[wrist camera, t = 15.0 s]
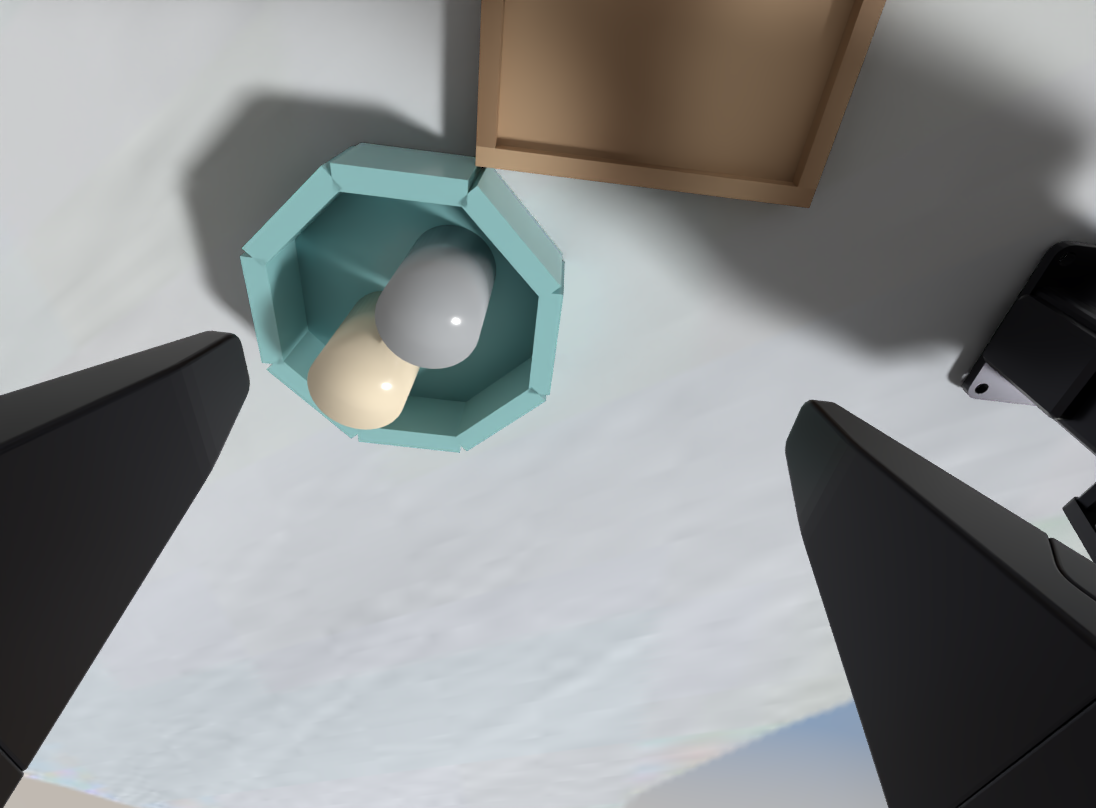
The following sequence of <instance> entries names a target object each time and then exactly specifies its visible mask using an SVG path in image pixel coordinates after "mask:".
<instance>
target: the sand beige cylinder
mask: <svg viewBox="0 0 1096 808" xmlns="http://www.w3.org/2000/svg"><path fill="white" fill-rule="evenodd" d="M381 293H382V291H377V292H372V293H369V294H367V295H365V296H364V297H362V298H361V299H360V300H359V301H358V302H357V303H356V304H355V305H354V307H353V308H352V310H351V311H350V312H349V314H348V315H347V317H346V318H345V319H344V321H343V322H342V323H341V325H340V326H339V328H338V329H337V330H336V332H335V333H334V335H333V336H332V337H331V339H330V340H329V341H328V343H327V344H326V346H325V347H324V348H323V350H322V351H321V353H320V354H319V355H318V357H317V358H316V359H315V361H314V362H313V364H312V365H311V367H310V369H309V372H308V377H307V385H308V390H309V393H310V395H311V397H312V399H313V401H314V403H315V404H316V405H317V407H318V408H319V409H320V410H321V411H322V412H323V413H324V414H325V415H327V416H328V417H329V418H331V419H332V420H334V421H336V422H338V423H340V424H342V425H344V426H347V427H351V428H355V429H364V430H367V429H377V428H381V427H384V426H386V425H388V424H390V423H391V422H393V421H394V420H395V419H396V418H397V417H398V416H399V415H400V413H401V412H402V410H403V407H404V405H405V402H406V400H407V397H408V395H409V393H410V390H411V388H412V385H413V383H414V380H415V378H416V376H417V373H418V371H419V368H420V367H418V366H415V365H412V364H410V363H408V362H406V361H404V360H402V359H401V358H399V357H398V356H396V355H395V354H394V353H393V352H392V351H391V350H390V349H389V348H388V347H387V346H386V344H385V343H384V342H383V340H382V338H381V337H380V335H379V332H378V330H377V326H376V322H375V308H376V303H377V301H378V298H379V296H380V294H381Z"/></svg>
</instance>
